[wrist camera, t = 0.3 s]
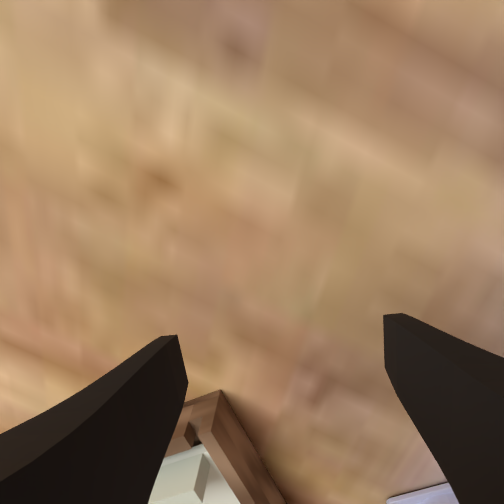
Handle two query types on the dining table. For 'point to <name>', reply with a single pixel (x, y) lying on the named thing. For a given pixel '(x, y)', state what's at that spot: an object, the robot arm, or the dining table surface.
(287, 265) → the dining table surface
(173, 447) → the groove box
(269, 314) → the dining table surface
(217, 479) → the cover plate
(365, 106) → the dining table surface
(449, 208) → the dining table surface
